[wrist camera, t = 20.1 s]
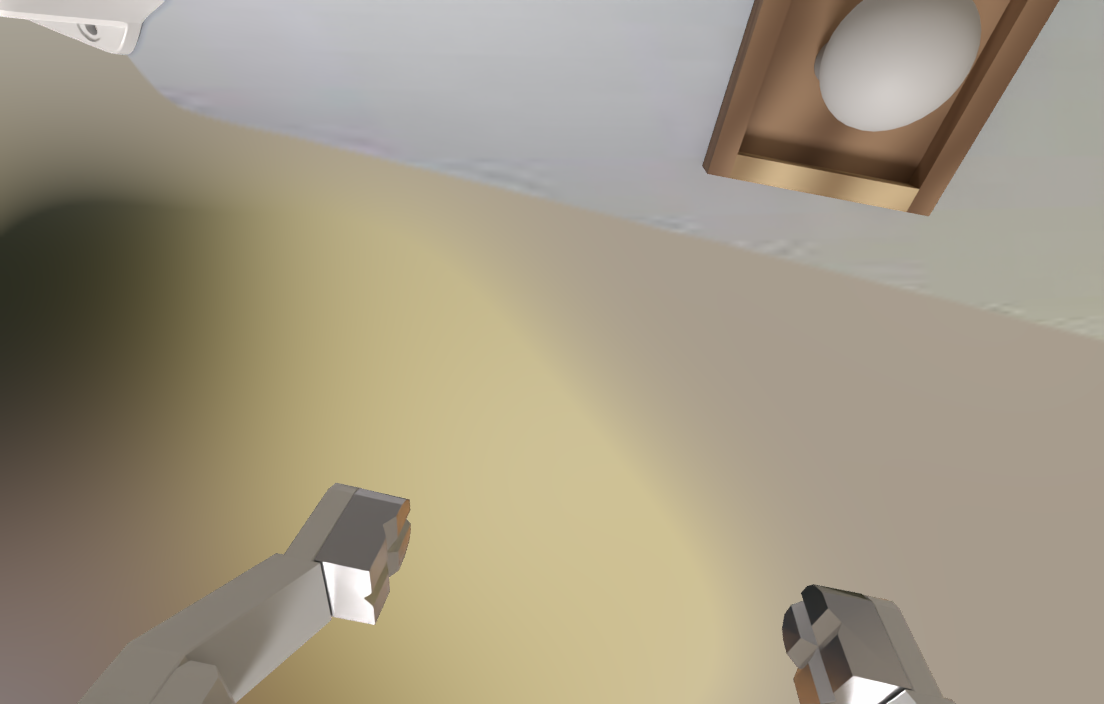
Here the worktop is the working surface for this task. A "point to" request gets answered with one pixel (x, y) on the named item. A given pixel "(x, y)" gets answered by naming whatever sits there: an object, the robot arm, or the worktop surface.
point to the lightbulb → (897, 60)
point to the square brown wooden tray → (837, 149)
